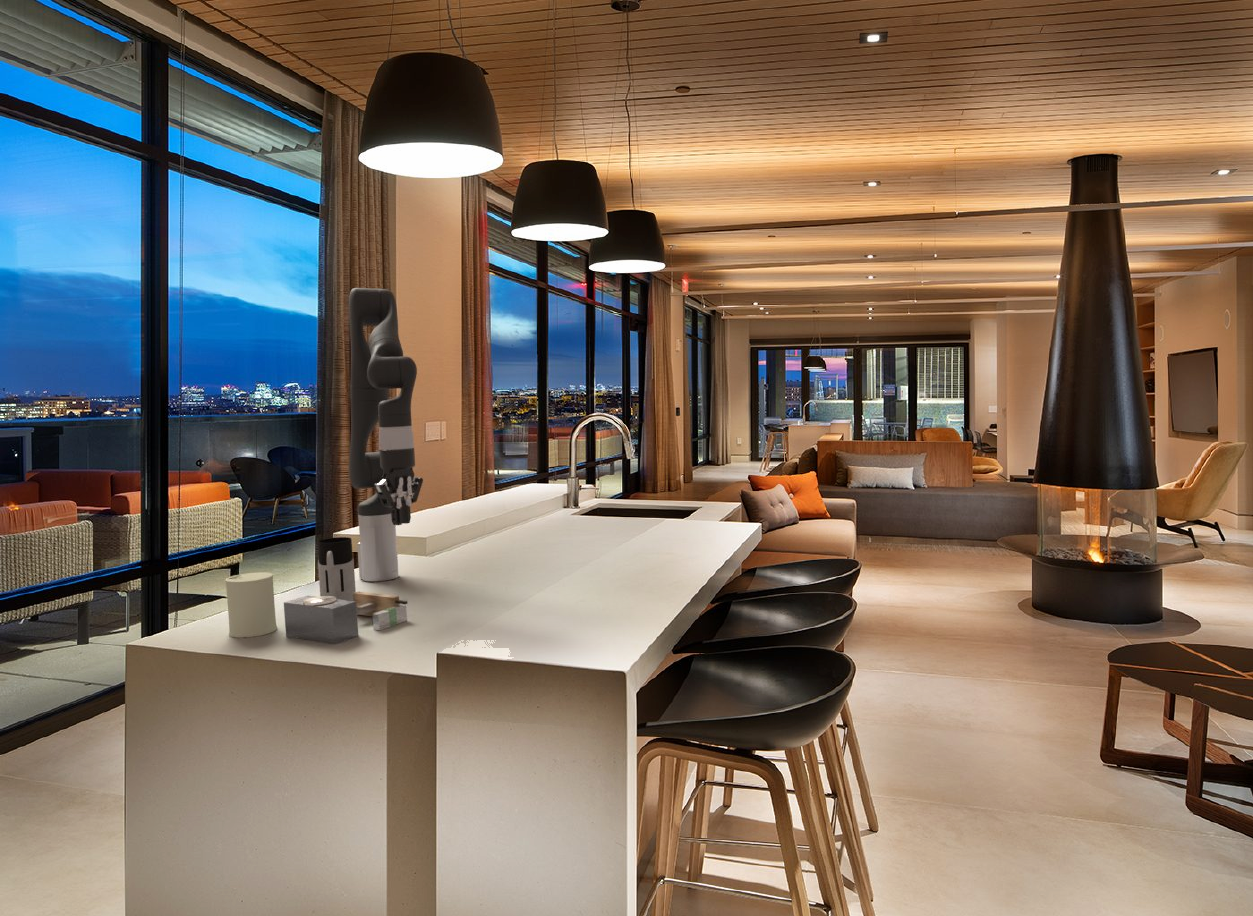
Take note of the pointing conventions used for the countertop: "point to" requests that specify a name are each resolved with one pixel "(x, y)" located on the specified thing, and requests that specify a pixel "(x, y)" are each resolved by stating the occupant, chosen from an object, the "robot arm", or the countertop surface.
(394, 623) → the set of grey blocks
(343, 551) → the black and white mug
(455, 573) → the countertop surface
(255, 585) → the can
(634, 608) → the countertop surface
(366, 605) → the tan wooden bar
